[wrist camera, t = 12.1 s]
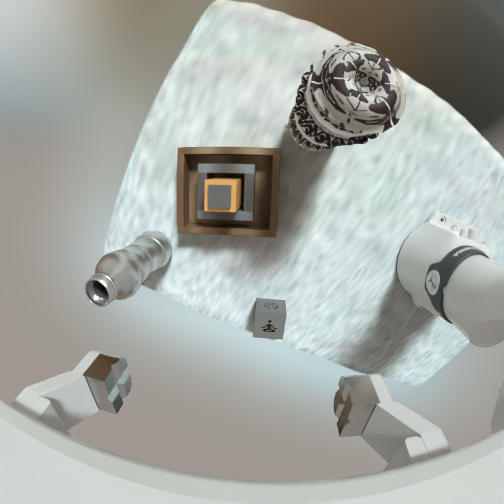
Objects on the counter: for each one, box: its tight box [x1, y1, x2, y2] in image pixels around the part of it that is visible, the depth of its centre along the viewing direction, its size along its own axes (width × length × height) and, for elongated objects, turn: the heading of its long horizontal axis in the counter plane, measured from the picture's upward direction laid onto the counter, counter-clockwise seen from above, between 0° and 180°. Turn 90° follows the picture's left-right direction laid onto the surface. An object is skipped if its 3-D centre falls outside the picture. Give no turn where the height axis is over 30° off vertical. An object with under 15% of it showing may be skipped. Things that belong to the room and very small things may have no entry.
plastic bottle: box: [85, 231, 172, 307], centre depth 38 cm, size 6×7×20 cm
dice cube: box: [253, 298, 286, 339], centre depth 47 cm, size 5×5×5 cm
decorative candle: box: [289, 43, 406, 152], centre depth 28 cm, size 9×9×25 cm
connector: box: [204, 177, 243, 212], centre depth 39 cm, size 4×4×10 cm
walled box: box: [177, 147, 280, 237], centre depth 41 cm, size 15×13×5 cm
